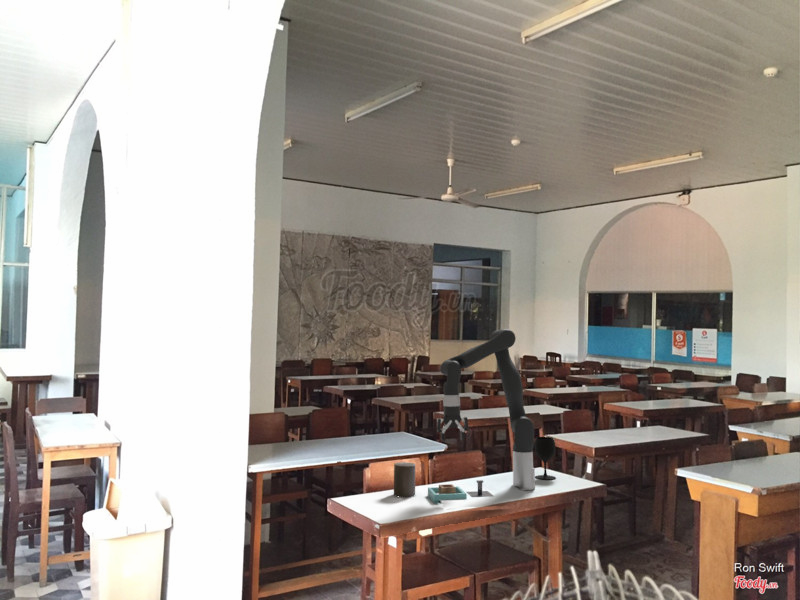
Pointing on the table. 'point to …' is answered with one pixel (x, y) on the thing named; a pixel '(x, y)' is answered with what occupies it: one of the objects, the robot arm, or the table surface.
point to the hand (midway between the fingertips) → (452, 440)
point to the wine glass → (545, 454)
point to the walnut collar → (446, 489)
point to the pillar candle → (404, 479)
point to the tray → (438, 497)
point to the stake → (480, 491)
